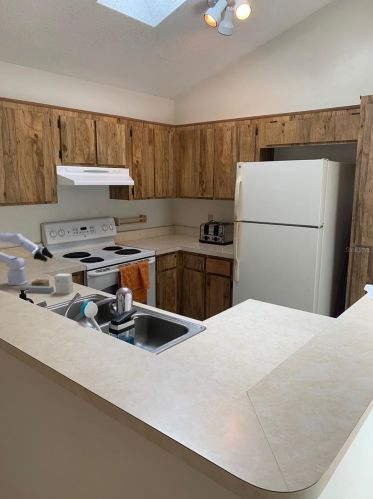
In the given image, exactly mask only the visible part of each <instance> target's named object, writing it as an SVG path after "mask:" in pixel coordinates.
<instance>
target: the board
mask: <svg viewBox="0 0 373 499" xmlns="http://www.w3.org/2000/svg"><path fill="white" fill-rule="evenodd" d="M26 289H28V291H25V292H24V293H31V294H32V293H35V294H36V293H37V294H39V293H40V294H52V293H53V292H55V290H54V285H53V286H51V285H49V286H32V285H21V287H20V291H21V290H26Z"/></svg>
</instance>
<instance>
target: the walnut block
mask: <svg viewBox="0 0 373 499" xmlns="http://www.w3.org/2000/svg"><path fill="white" fill-rule="evenodd" d="M30 284H31V286H50V279H34V280H33V281H31V283H30Z"/></svg>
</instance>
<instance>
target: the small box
mask: <svg viewBox="0 0 373 499" xmlns="http://www.w3.org/2000/svg"><path fill="white" fill-rule="evenodd" d="M54 286H55V294H56V295H57V294H58V295H59V294H60V295H63V294H64V295H66V294H67V295H68V294H69V295H70V294H71V293H72V292H73V291H74V287H73V286H74V285H73V275H72V273H57V274H56V275H54Z"/></svg>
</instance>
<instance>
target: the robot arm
mask: <svg viewBox="0 0 373 499" xmlns="http://www.w3.org/2000/svg"><path fill="white" fill-rule="evenodd" d="M0 242H1V243H8V244H9V243H10V244H13V245H18V246H19V247H21V248H22V249H24V250H26V251H27V252H29V253H30V256H31V257H33V260H38V261H42V262H45V263H47V262H48V260H49V259H53V257H54V255H53V254H52V253H51V252H50V251H49V249H48V247H47V246H45V247H44V246H42V245H41V244H39V245H37V244H36V243H35V242H32V241H31V240H29V239H27V238H26V237H25V236H24V235H23V233H20V232H18V233H15V232H12V233H10V232H7V231H3V232H1V233H0ZM48 258H49V259H48ZM0 262H2V263H4V264H5V265H6V267H7V268H9V269H8V271H7V285H8V286H9V285H10V286H24V285H25V284H27V283H28V282H29V280H26V272H25V266H26V263H27V262H26V259H25V258H24V257H21V256H20V257H18V256H12V255H9V254H7V253H4V252H2V251H0Z"/></svg>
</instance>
